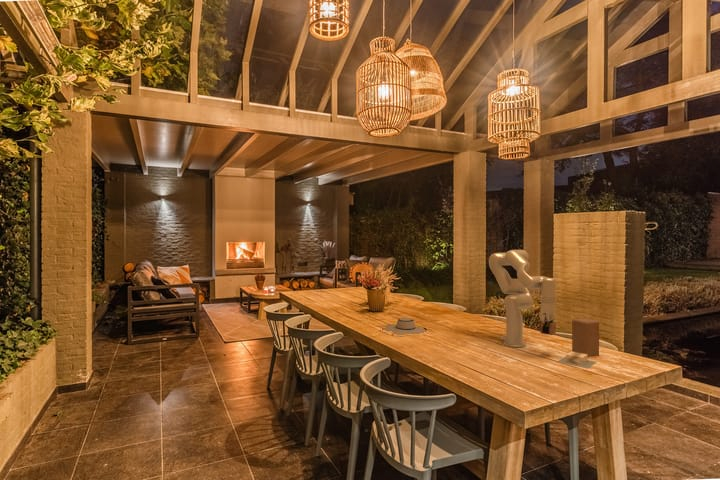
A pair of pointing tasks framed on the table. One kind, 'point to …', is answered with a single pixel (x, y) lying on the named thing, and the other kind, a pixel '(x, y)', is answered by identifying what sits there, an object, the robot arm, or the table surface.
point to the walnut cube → (551, 328)
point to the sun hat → (404, 327)
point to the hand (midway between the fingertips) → (547, 331)
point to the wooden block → (585, 336)
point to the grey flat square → (586, 365)
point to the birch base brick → (577, 358)
